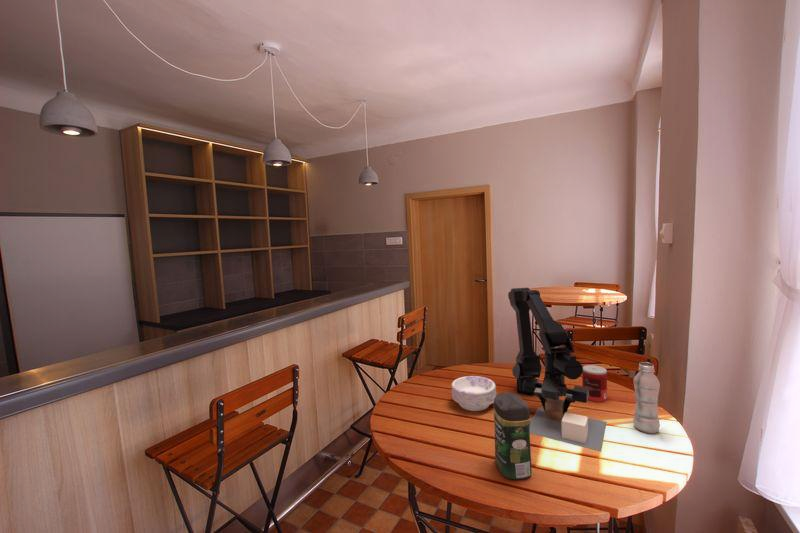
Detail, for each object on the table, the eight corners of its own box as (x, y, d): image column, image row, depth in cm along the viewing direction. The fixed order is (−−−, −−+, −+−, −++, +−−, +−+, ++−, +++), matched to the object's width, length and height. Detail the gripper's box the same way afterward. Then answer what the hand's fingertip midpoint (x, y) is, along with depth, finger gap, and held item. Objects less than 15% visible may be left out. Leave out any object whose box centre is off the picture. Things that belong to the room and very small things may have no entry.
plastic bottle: (655, 426, 107) (655, 361, 105) (663, 438, 100) (664, 369, 99) (630, 423, 109) (630, 359, 108) (636, 435, 102) (637, 367, 101)
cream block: (561, 437, 102) (561, 420, 102) (565, 428, 107) (565, 412, 106) (585, 443, 98) (585, 426, 98) (587, 433, 103) (587, 416, 103)
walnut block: (545, 417, 113) (545, 402, 113) (548, 411, 117) (548, 396, 117) (562, 421, 111) (562, 406, 110) (565, 415, 115) (565, 399, 114)
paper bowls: (447, 412, 121) (446, 389, 121) (457, 394, 135) (456, 373, 135) (493, 418, 116) (492, 395, 115) (498, 399, 130) (498, 377, 129)
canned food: (600, 394, 130) (600, 364, 129) (611, 404, 122) (611, 372, 121) (578, 394, 131) (578, 365, 130) (588, 404, 123) (587, 373, 122)
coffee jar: (491, 458, 95) (489, 390, 93) (520, 456, 95) (518, 388, 94) (504, 483, 85) (502, 407, 84) (536, 480, 85) (535, 405, 84)
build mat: (524, 433, 106) (524, 431, 106) (538, 408, 121) (538, 407, 121) (601, 453, 95) (601, 451, 95) (606, 423, 109) (606, 421, 109)
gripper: (517, 370, 112) (518, 418, 113) (584, 381, 101) (584, 434, 102) (527, 360, 121) (527, 404, 122) (588, 369, 110) (589, 418, 111)
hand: (555, 415), depth 114 cm, fingers closed on walnut block, 5 cm apart
